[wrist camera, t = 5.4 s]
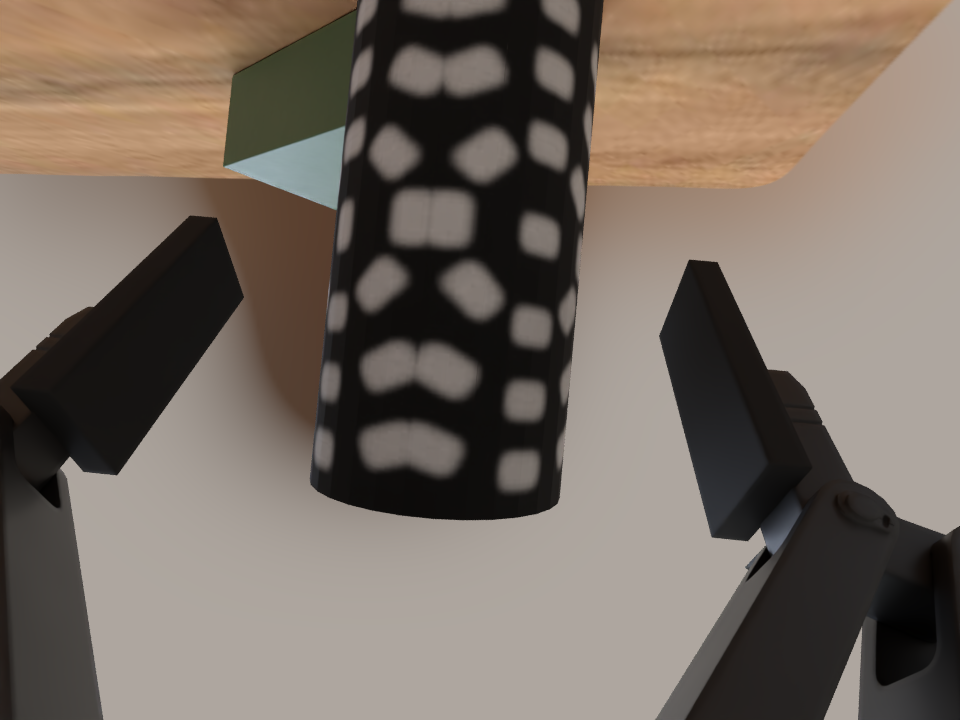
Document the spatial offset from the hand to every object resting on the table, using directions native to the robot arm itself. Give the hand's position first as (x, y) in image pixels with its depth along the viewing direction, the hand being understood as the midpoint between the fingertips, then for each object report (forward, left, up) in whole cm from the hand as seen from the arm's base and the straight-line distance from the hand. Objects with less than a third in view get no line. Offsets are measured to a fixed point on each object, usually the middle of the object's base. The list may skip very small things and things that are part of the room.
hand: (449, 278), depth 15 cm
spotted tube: (-1, -2, -14) cm, 14 cm away
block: (-13, -11, -13) cm, 22 cm away
